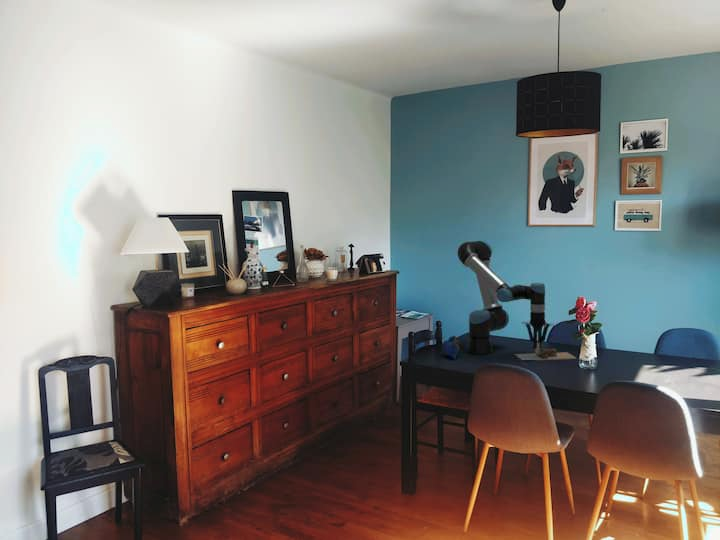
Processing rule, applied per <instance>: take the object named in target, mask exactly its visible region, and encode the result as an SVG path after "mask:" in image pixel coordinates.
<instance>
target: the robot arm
mask: <svg viewBox="0 0 720 540" xmlns="http://www.w3.org/2000/svg"><path fill="white" fill-rule="evenodd" d="M492 255H493V249H492V246H491V245H490V244H489V242H486V241H484V240H476V241H465V242H463V243H461V244H460V245H459V247H458V249H457V257H458V260H459V261H460V262H461V264H462V265H464V267H466V268H469V269H470V270H471V271H472V272H473V273H474V274H475V275H476V279H477V283H478V284H477V285H478V287H479V292H480V295H481V299H482V302H483V303H482V304H483V307H482V309H477V310H476V309H475V310H473V311H471V312H470V313H469V315H468V316H469V317H468V335H469V336H468V341H467V345H466V347H465V350H466V351H467V353H468V352H470V353H469V354H471V353H474V354H473V355H478V354H484V355H490V354H493V353H494V347H493V345H492V342H491V337H490V336H491V332H495V331H499V330H504V329H505V328H506V327H508V324H509V322H510V316H509V313H508V312H507V311H506V310H505V309H504V308H503V305H502V304H500V303H509V302H514V301H518V300H519V301H520V300H526V301H527V300H529V301H530V309H529V310H530V313H529V314H530V315H529V316H530V320H529V322H528V324H525V328H526V329H527V332H528V337H529V340H530V341H531V342H533V348H534V354H537V355H538V354H540V348H542V346H541V344H543V342H545V341H546V339H547V338H546V337H547V333H548V329H549V328H550V323H547V322H546V318H545V317H546V312H545V309H546V302H545V301H546V286H545V284H544V283H543V282H542V283H541V282H533V283H530V285H521V284H514V285H513V286H510V285H508V284H507V283H506V282H505V281H504V280H503V279H502V278H501V277H500V276H499V275H498V274H496V273H495V271H493V270H492V269H491V268H490V262H491V258H492ZM499 302H500V303H499ZM531 326H532V328H531ZM537 328H538V332H537ZM532 329H533V331H532ZM466 351H465V352H466ZM489 353H490V354H489Z"/></svg>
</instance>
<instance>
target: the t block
mask: <svg viewBox="0 0 720 540" xmlns="http://www.w3.org/2000/svg"><path fill="white" fill-rule="evenodd" d="M557 353H558V349H556V348H544V347H541V348H540V354H538V355H537V354H536V355H537V356H539V357H540V358H541V359H547V358H548V357H557Z"/></svg>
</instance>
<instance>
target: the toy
mask: <svg viewBox="0 0 720 540" xmlns="http://www.w3.org/2000/svg"><path fill="white" fill-rule="evenodd" d="M442 350H443V353H444V355H445V354H446V355H445V356H447V355H449V357H451V358H453V360H454V359H457V356H458V355H459V352H460V350H461V348H460V341H459V340H457V336H456V335H451V336H450V337H449V338H448V339H447V340H444V341H443V342H442Z"/></svg>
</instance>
